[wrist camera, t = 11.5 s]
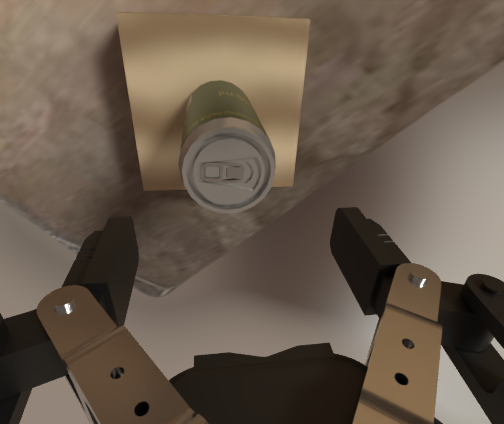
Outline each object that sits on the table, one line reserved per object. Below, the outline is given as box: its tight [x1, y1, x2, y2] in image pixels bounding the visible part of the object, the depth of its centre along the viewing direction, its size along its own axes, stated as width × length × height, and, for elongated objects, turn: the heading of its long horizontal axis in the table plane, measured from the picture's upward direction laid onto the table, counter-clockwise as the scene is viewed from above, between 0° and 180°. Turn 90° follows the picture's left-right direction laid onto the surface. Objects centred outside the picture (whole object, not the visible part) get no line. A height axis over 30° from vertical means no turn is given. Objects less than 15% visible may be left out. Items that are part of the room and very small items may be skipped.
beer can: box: [178, 80, 276, 213], centre depth 23 cm, size 5×5×12 cm
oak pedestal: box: [116, 12, 310, 191], centre depth 29 cm, size 14×14×4 cm
